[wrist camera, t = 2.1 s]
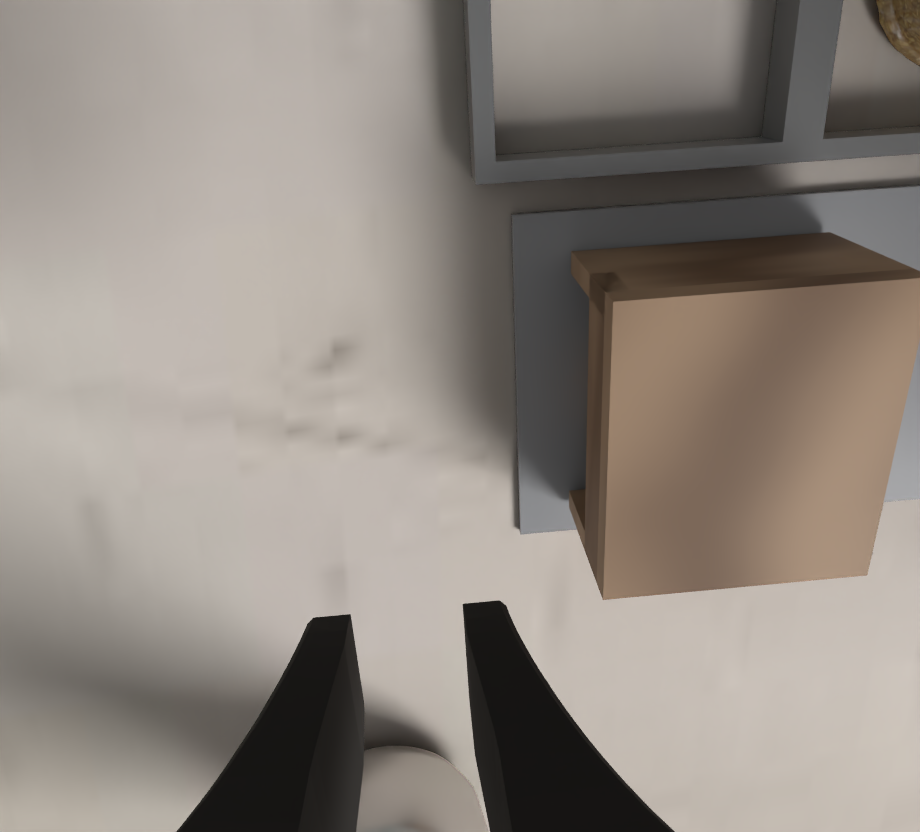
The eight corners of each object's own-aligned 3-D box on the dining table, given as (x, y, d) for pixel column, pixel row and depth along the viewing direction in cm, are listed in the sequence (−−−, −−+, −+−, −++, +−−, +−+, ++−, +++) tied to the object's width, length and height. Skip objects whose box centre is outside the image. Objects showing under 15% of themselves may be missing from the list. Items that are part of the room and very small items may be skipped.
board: (1098, 171, 21) (1166, 183, 19) (1003, 487, 25) (1050, 522, 23) (511, 214, 20) (522, 230, 18) (519, 530, 24) (529, 569, 23)
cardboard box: (830, 232, 20) (933, 276, 16) (789, 487, 24) (867, 575, 20) (571, 251, 20) (613, 301, 16) (569, 506, 24) (603, 599, 20)
